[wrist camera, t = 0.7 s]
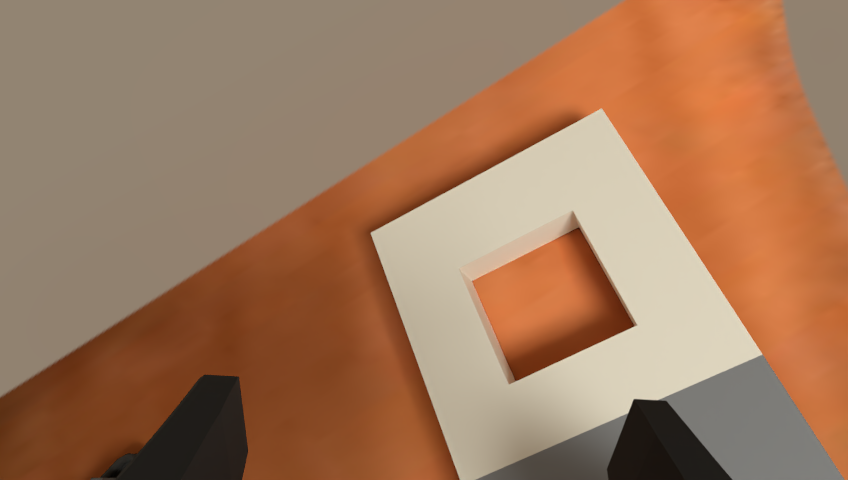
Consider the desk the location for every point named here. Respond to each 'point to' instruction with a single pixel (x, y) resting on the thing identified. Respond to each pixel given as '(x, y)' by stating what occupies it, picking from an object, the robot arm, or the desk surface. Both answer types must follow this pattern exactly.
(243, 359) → the desk surface
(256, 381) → the desk surface
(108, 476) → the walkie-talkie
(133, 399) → the desk surface
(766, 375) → the dock board
